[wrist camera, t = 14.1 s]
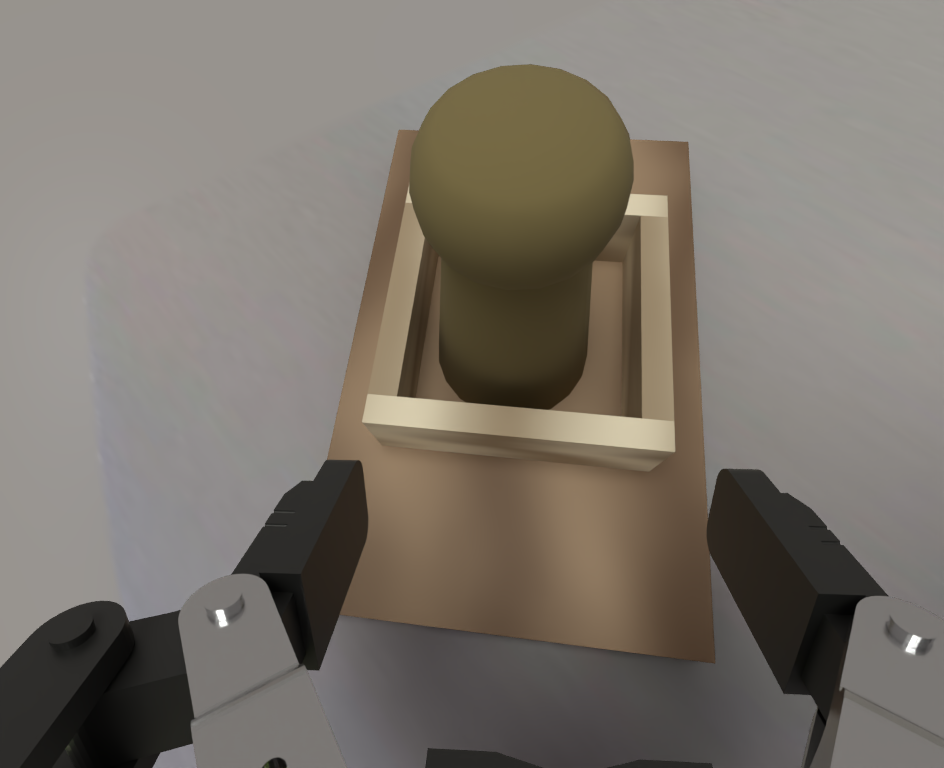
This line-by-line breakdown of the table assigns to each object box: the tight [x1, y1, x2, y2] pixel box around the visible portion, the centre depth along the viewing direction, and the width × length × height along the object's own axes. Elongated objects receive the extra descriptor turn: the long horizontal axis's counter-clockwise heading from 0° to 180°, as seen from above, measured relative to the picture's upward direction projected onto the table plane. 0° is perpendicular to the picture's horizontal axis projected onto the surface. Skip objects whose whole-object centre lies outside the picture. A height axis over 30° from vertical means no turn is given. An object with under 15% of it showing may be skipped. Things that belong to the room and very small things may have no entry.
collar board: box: [327, 130, 715, 663], centre depth 20 cm, size 14×22×4 cm, turn 173°
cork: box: [409, 64, 634, 410], centre depth 16 cm, size 6×6×11 cm
